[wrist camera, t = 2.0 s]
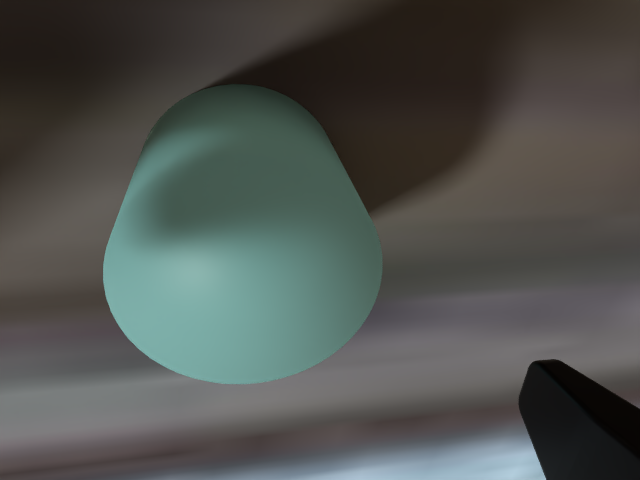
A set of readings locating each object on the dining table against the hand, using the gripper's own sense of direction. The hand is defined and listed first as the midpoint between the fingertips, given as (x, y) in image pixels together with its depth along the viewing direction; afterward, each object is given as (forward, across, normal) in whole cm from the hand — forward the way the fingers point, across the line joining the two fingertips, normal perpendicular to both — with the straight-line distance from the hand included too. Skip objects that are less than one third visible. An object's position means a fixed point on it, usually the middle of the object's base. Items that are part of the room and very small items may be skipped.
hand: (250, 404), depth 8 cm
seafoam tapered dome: (+8, 0, 0) cm, 8 cm away
